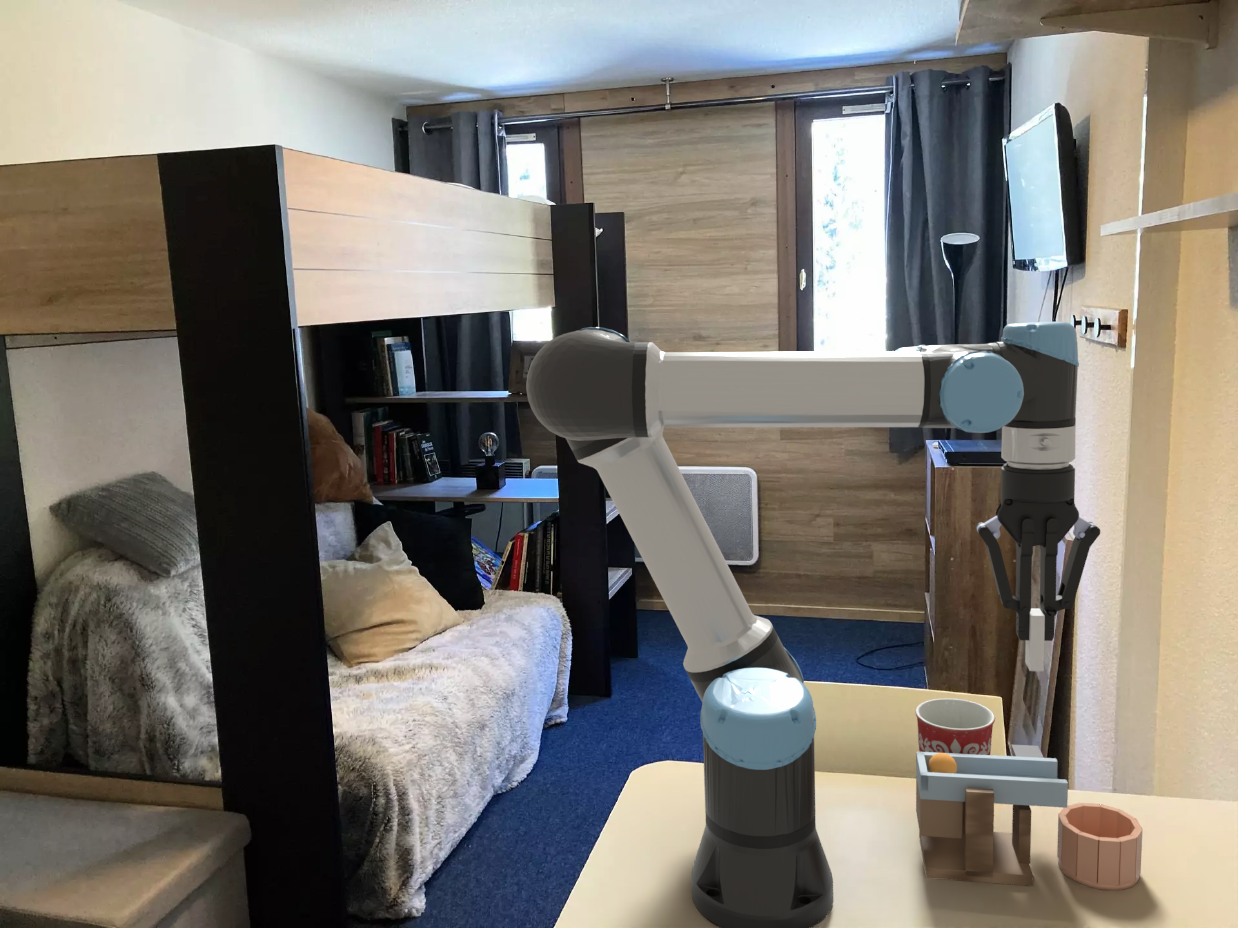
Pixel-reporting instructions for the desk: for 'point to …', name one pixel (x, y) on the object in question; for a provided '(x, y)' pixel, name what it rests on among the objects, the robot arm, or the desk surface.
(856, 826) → the desk surface
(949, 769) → the ball
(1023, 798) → the chute
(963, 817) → the stand
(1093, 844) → the cup
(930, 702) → the mug
